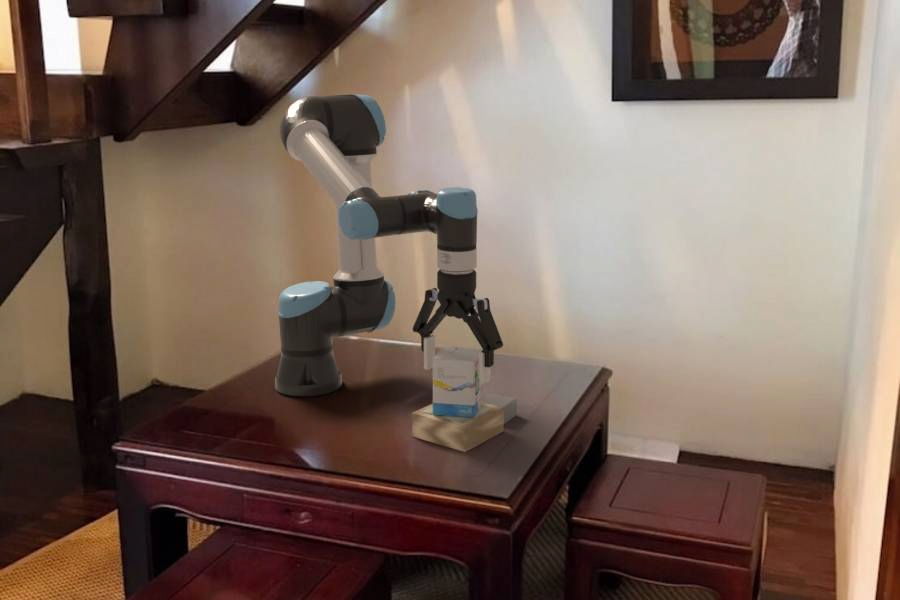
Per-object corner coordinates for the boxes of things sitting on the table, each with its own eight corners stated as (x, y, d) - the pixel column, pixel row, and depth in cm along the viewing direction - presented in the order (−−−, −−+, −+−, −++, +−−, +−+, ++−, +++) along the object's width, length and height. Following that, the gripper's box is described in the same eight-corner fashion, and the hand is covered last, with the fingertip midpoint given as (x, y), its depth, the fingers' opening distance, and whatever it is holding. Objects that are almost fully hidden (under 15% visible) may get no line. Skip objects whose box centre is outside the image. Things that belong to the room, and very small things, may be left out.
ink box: (474, 418, 192) (474, 361, 190) (431, 415, 194) (430, 358, 191) (483, 403, 200) (483, 348, 198) (442, 400, 202) (441, 345, 199)
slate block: (477, 420, 206) (477, 402, 205) (491, 411, 211) (491, 393, 210) (502, 425, 203) (502, 407, 202) (516, 416, 208) (516, 398, 207)
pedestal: (412, 436, 198) (411, 411, 196) (452, 417, 208) (451, 393, 206) (465, 451, 190) (464, 426, 189) (503, 431, 200) (503, 406, 199)
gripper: (394, 264, 195) (395, 366, 200) (499, 283, 180) (497, 393, 186) (418, 257, 200) (419, 357, 206) (522, 275, 186) (520, 382, 191)
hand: (456, 374), depth 196 cm, fingers open, 13 cm apart
